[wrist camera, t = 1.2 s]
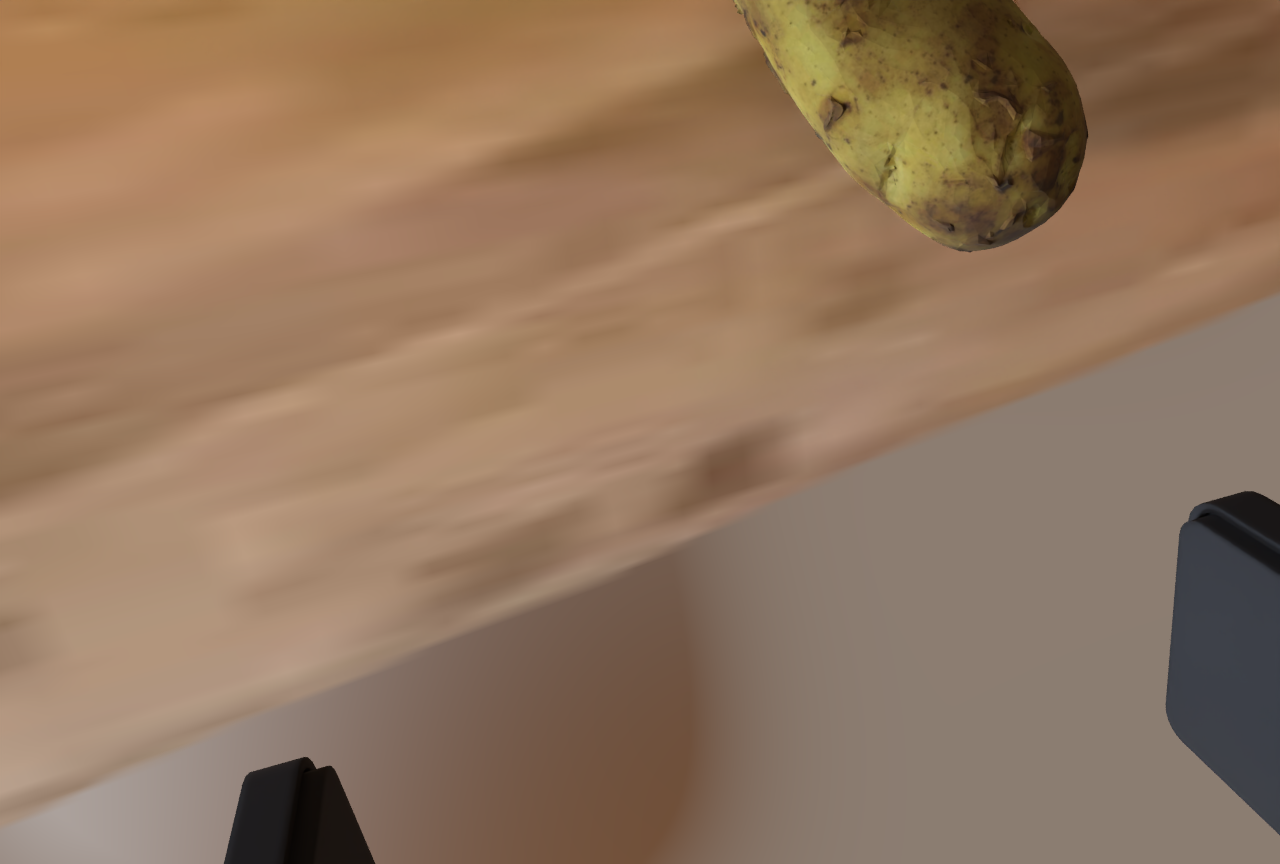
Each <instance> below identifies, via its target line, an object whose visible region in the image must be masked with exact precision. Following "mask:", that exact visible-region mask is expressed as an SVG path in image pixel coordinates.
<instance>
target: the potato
mask: <svg viewBox="0 0 1280 864" xmlns="http://www.w3.org/2000/svg"><path fill="white" fill-rule="evenodd" d="M733 1H734V2H735V3H736V5H735V7H736V8H737V9H738V12H737V13H739V14H744V17H745V20H746V23H747V26H748V27H749V29H750V31H751V33H752V35H753V36H754V38H756V39H757V40H758V41H759V43H760V44H761V46H762V47H763V49H764V56H765V59H766V64H767V65H768V67H769V68H770V70H771V71H772V73H773V74H774V75H775V77H776V78H777V79H778V81H779V83H780V85H781V87H782V89H783V91H784V92H785V93H786V94H789V95H790V96H791V98H792V99H793V100H794V101H795V103H796V105H797V106H798V108H799V109H800V111H801V112H802V114H803V115H804V117H805V118H806V119H807V121H808V122H809V123H810V125H811V126H812V127H813V129H814V130H815V133H816V135H817V137H818V138H820V139H822V140H823V142H824V143H825V145H826V146H827V147H828V148H829V150H830V151H831V152H832V154H833V155H834V156H835V157H836V159H837V160H838V161H839V163H840V164H841V165H842V167H843V168H844V169H845V170H846V171H847V173H848V174H849V175H850V176H851V177H852V178H853V179H854V180H855V181H856V182H857V183H858V184H859V185H860V186H862V187H863V188H864V189H865V190H866V191H867V192H869V193H870V194H872V195H873V196H875V197H876V198H878V199H879V200H880V201H882V202H883V203H884V204H885V205H887V206H888V207H889V208H891V209H892V210H893V211H895V212H896V213H897V214H898V215H899V216H900V217H901V218H902V219H904V220H905V221H906V222H907V223H909V224H910V225H911V226H913V227H914V228H916V229H917V230H919V231H920V232H922V233H923V234H925V235H926V236H928V237H930V238H932V239H933V240H935V241H936V242H938V243H940V244H941V245H943V246H946V247H949V248H952V249H955V250H958V251H967V252H972V251H978V250H986V249H992V248H996V247H999V246H1002V245H1004V244H1007V243H1009V242H1011V241H1014V240H1016V239H1018V238H1020V237H1022V236H1023V235H1025V234H1027V233H1028V232H1030V231H1032V230H1033V229H1035V228H1037V227H1038V226H1040V225H1042V224H1043V223H1045V222H1046V221H1047V220H1048V219H1049V218H1050V217H1052V216H1053V215H1054V214H1055V213H1056V212H1057V211H1058V210H1059V209H1060V208H1061V207H1062V205H1063V204H1064V203H1065V201H1066V200H1067V199H1068V197H1069V196H1070V194H1071V193H1072V192H1073V190H1074V188H1075V186H1076V182H1077V179H1078V176H1079V172H1080V169H1081V167H1082V163H1083V160H1084V156H1085V149H1086V142H1087V138H1088V130H1087V125H1086V120H1085V115H1084V111H1083V107H1082V102H1081V98H1080V95H1079V92H1078V89H1077V85H1076V83H1075V81H1074V79H1073V77H1072V75H1071V73H1070V71H1069V70H1068V68H1067V66H1066V65H1065V63H1064V61H1063V59H1062V58H1061V57H1060V56H1059V54H1058V53H1057V52H1056V51H1055V49H1054V48H1053V47H1052V46H1051V45H1050V43H1049V42H1048V41H1047V40H1046V39H1045V38H1044V37H1043V36H1042V35H1041V34H1040V33H1039V31H1038V30H1037V28H1036V27H1035V26H1034V25H1033V24H1032V23H1031V22H1030V21H1029V20H1028V18H1027V17H1026V16H1025V15H1024V13H1023V12H1022V11H1021V10H1020V9H1019V7H1018V6H1017V5H1016V4H1015V3H1014V2H1013V0H733Z"/></svg>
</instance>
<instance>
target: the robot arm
mask: <svg viewBox="0 0 1280 864" xmlns="http://www.w3.org/2000/svg"><path fill="white" fill-rule="evenodd" d="M1166 713H1167V717H1168V720H1169V722H1170V725H1171V727H1172V729H1173V730H1174V732H1175V733H1176V735H1177V736H1178V737H1179V739H1180V740H1181V741H1182V742H1183V743H1184V744H1185V745H1186V746H1187V747H1188V748H1189V749H1191V751H1193V752H1194V753H1195V754H1196V755H1197V756H1198V757H1199V758H1200V759H1201V760H1202V761H1203V762H1204V763H1205V764H1206V765H1207V766H1208V767H1209V768H1210V769H1211V770H1212V771H1213V772H1214V773H1216V774H1217V775H1218V776H1219V777H1220V778H1221V779H1222V780H1223V781H1224V782H1225V783H1226V784H1227V785H1228V786H1229V787H1230V788H1231V789H1232V790H1233V791H1234V792H1235V793H1236V794H1237V795H1238V796H1239V797H1241V798H1242V799H1243V800H1244V801H1245V802H1246V803H1247V804H1248V805H1249V806H1250V807H1251V808H1252V809H1253V810H1254V811H1255V812H1256V813H1257V814H1258V815H1259V816H1260V817H1261V818H1262V819H1264V820H1265V821H1266V822H1267V823H1268V824H1269V825H1270V826H1271V827H1272V828H1273V829H1274V830H1275V831H1276V832H1277V833H1278V834H1279V835H1280V505H1279V504H1277V503H1276V502H1274V501H1272V500H1270V499H1269V498H1267V497H1265V496H1263V495H1261V494H1259V493H1256V492H1253V491H1245V492H1241V493H1237V494H1234V495H1231V496H1227V497H1223V498H1220V499H1216V500H1212V501H1209V502H1206V503H1202V504H1200V505H1198V506H1196V507H1194V509H1193V510H1192V512H1191V513H1190V516H1189V521H1188V522H1186V523H1184V525H1183V526H1182V527H1181V530H1180V534H1179V546H1178V558H1177V572H1176V583H1175V597H1174V610H1173V620H1172V633H1171V645H1170V658H1169V672H1168V684H1167V695H1166ZM224 864H375V862H374V860H373V857H372V855H371V853H370V850H369V849H368V846H367V843H366V841H365V839H364V836H363V834H362V832H361V829H360V827H359V824H358V822H357V820H356V817H355V815H354V813H353V810H352V808H351V806H350V803H349V801H348V799H347V796H346V794H345V792H344V789H343V787H342V785H341V782H340V780H339V778H338V775H337V773H336V771H335V770H334V768H332V766H326V767H322V768H319V769H316V767H315V766H314V764H313V762H312V761H311V760H310V759H309V758H308V757H303V758H300V759H296V760H292V761H289V762H285V763H282V764H278V765H274V766H271V767H268V768H264V769H260V770H257V771H253V772H250V773H249V774H248V775H247V776H246V777H245V779H244V782H243V785H242V789H241V794H240V797H239V802H238V806H237V810H236V814H235V819H234V823H233V827H232V831H231V836H230V840H229V844H228V849H227V853H226V857H225V861H224Z"/></svg>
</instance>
